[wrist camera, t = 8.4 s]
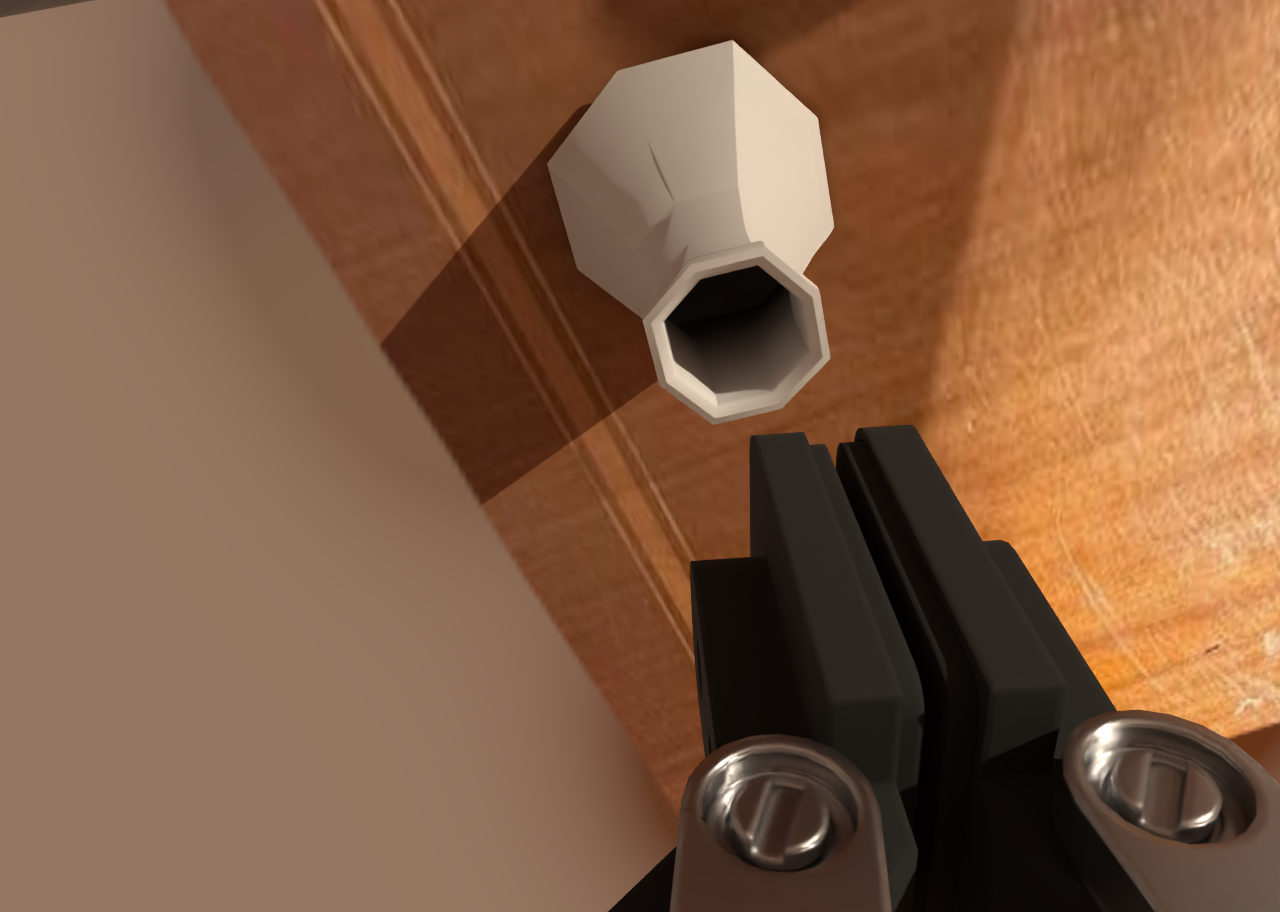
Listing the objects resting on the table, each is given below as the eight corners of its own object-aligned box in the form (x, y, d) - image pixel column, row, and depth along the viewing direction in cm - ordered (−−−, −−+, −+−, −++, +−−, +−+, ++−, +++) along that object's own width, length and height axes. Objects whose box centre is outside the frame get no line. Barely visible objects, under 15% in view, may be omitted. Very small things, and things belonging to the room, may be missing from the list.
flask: (877, 233, 27) (1011, 395, 18) (648, 369, 28) (668, 577, 20) (745, -18, 23) (829, 26, 15) (497, 150, 25) (441, 281, 16)
